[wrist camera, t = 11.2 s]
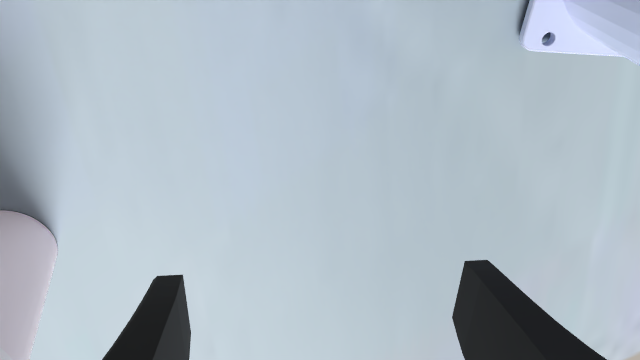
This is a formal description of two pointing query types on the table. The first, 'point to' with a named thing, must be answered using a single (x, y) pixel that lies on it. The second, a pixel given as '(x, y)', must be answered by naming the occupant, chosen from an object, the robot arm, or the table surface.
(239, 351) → the table surface
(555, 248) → the table surface
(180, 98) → the table surface
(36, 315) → the smoothie
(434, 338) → the table surface
